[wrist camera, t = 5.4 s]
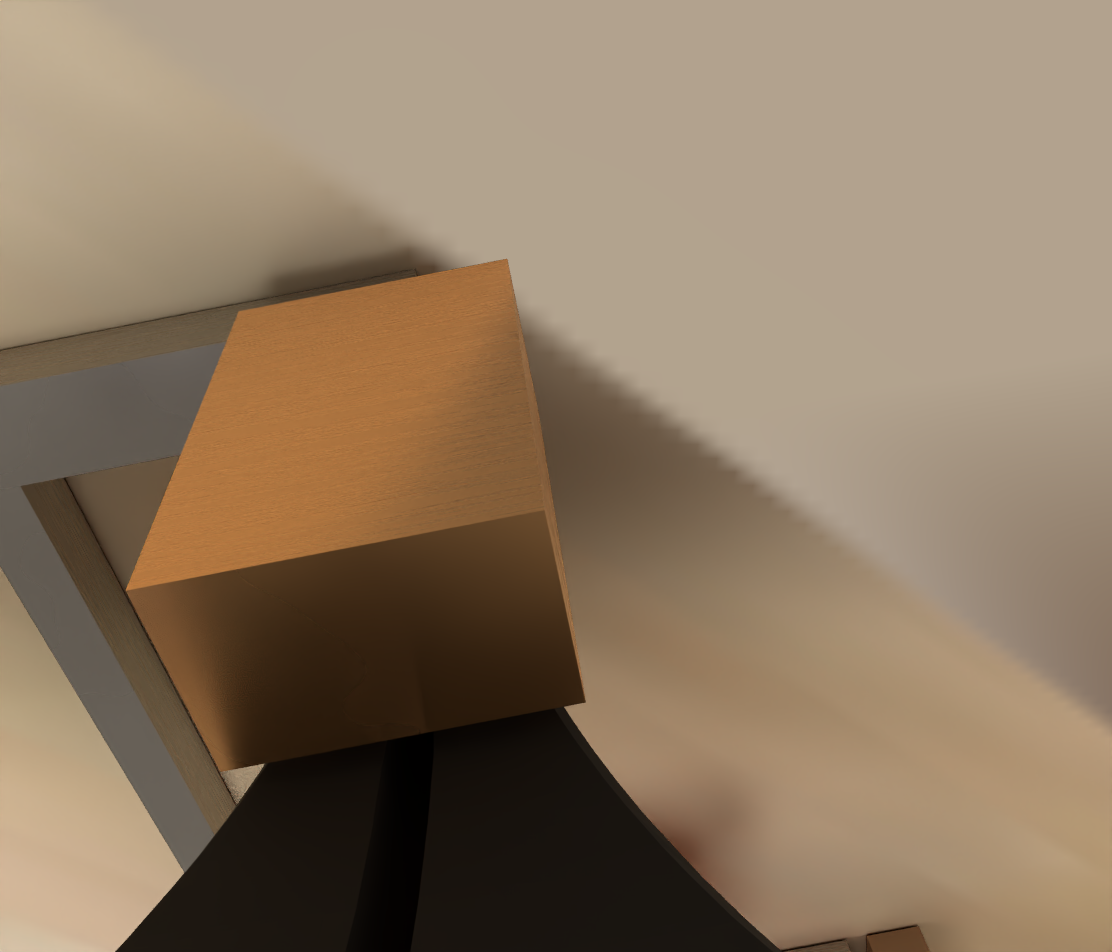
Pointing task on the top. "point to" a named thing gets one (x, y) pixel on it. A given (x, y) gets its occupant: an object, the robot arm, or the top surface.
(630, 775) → the top surface
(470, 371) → the pull bar
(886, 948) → the shelf lane
